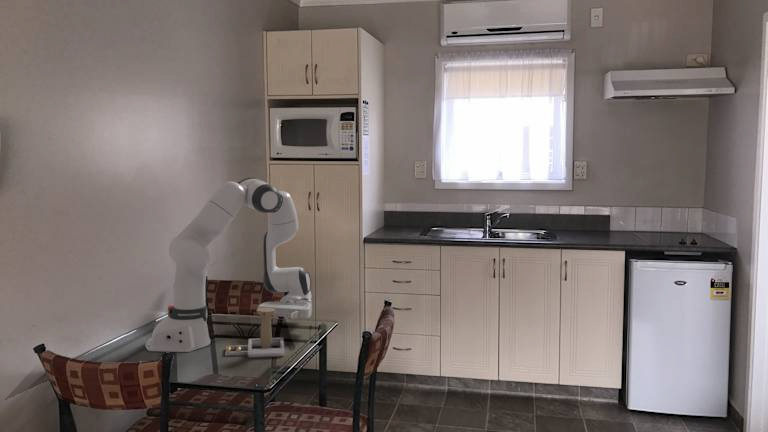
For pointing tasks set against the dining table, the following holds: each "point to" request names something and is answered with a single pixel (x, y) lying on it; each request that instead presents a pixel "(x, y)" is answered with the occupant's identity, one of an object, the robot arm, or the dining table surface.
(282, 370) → the dining table surface
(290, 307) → the robot arm
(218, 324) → the dining table surface
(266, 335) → the handle
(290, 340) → the dining table surface
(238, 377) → the dining table surface
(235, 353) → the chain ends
